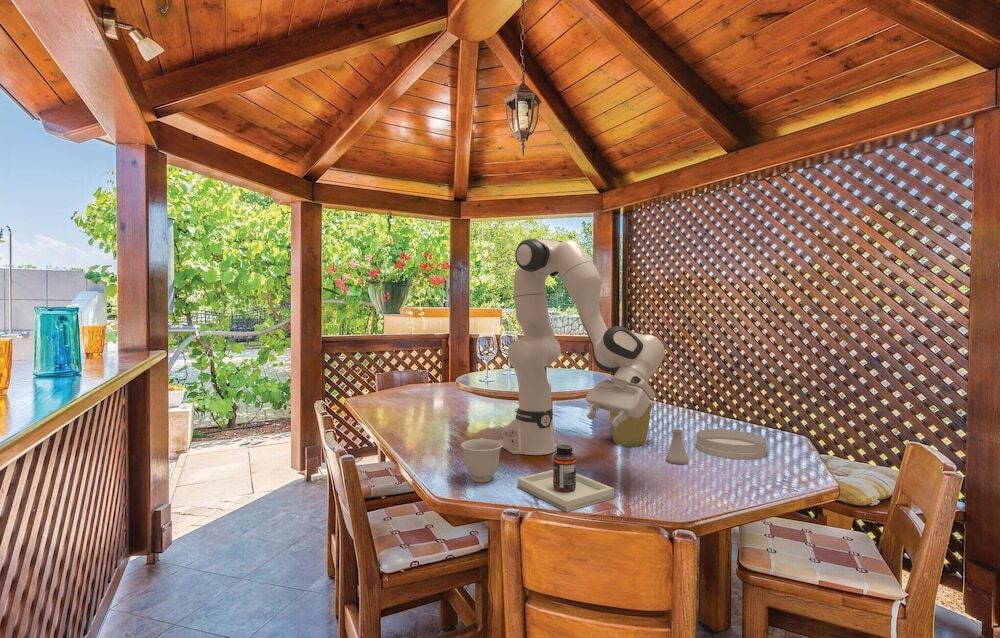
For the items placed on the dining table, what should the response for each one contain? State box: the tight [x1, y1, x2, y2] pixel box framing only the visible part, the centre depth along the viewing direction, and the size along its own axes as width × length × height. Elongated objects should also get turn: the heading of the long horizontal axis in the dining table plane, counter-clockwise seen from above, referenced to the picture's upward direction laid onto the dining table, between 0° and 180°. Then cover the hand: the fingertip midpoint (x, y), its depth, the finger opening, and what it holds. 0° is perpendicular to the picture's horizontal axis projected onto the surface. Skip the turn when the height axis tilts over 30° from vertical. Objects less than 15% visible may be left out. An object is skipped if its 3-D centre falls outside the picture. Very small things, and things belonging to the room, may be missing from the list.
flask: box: [664, 428, 690, 465], centre depth 161 cm, size 7×7×10 cm
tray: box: [517, 469, 615, 513], centre depth 133 cm, size 20×16×2 cm
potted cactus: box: [609, 401, 653, 447], centre depth 183 cm, size 15×15×30 cm
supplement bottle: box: [552, 443, 577, 492], centre depth 133 cm, size 6×6×11 cm
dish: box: [695, 428, 768, 461], centre depth 174 cm, size 22×22×5 cm
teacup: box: [460, 437, 503, 483], centre depth 145 cm, size 12×15×10 cm
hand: (600, 421), depth 139 cm, fingers open, 8 cm apart
